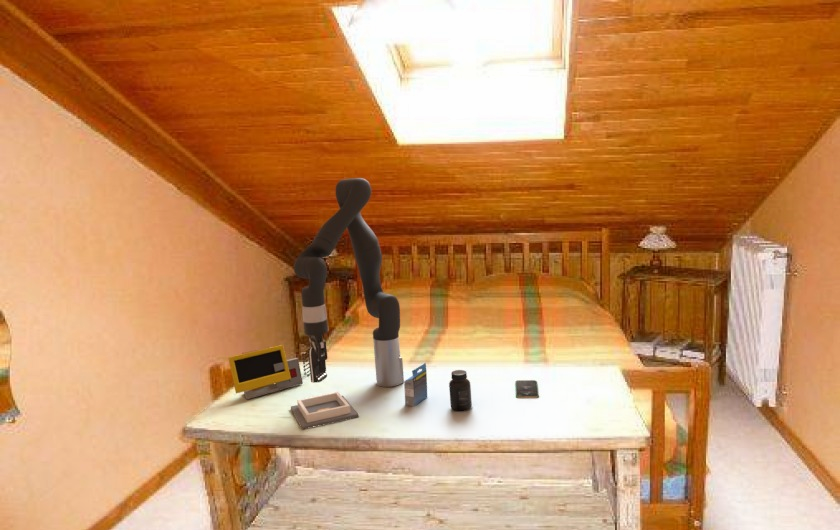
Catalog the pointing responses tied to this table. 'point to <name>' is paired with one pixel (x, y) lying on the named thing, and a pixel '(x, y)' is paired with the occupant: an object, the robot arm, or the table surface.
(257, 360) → the toy computer monitor
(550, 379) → the table surface
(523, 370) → the table surface
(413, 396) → the label tape box
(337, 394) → the tray
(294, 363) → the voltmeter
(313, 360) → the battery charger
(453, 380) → the supplement bottle
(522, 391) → the smartphone
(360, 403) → the table surface
